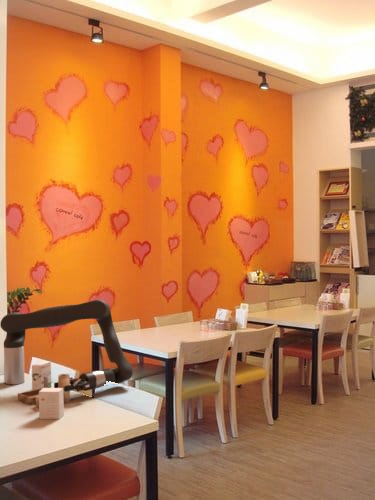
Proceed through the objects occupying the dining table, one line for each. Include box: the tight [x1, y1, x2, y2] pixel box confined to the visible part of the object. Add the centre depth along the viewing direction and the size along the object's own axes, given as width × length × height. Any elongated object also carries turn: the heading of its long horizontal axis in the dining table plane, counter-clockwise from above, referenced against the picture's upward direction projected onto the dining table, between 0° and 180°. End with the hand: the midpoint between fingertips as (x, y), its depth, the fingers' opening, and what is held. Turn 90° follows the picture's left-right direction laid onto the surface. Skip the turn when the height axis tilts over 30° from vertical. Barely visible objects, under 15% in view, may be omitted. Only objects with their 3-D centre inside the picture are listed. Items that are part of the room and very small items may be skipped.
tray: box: [17, 389, 42, 406], centre depth 239 cm, size 11×11×2 cm
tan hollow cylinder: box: [57, 373, 71, 404], centre depth 236 cm, size 5×5×11 cm
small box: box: [38, 387, 65, 420], centre depth 215 cm, size 8×6×10 cm
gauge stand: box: [35, 376, 48, 408], centre depth 229 cm, size 6×6×12 cm
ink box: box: [31, 361, 52, 391], centre depth 256 cm, size 9×5×12 cm, turn 160°
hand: (59, 387), depth 234 cm, fingers open, 7 cm apart
